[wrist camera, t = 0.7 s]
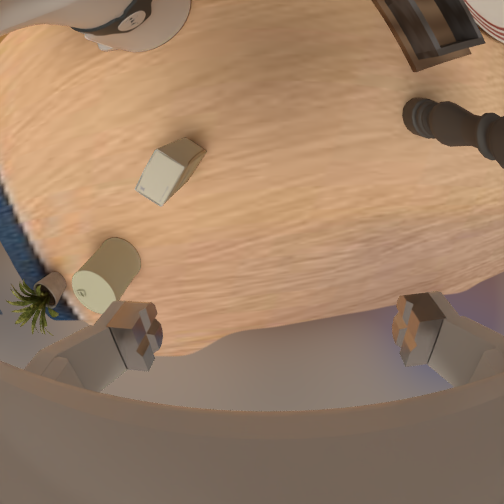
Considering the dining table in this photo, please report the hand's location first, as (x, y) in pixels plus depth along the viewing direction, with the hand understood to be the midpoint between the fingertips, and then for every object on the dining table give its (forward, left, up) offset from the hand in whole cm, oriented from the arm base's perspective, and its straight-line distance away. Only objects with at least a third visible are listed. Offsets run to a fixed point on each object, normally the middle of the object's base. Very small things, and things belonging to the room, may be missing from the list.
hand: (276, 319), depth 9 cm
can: (+3, -36, -37) cm, 52 cm away
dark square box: (-8, +32, -37) cm, 50 cm away
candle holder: (+6, +23, -37) cm, 44 cm away
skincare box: (-5, -13, -37) cm, 40 cm away
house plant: (-1, -56, -37) cm, 67 cm away
